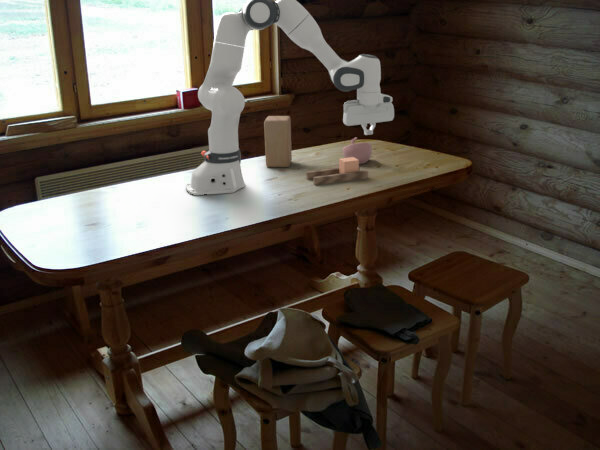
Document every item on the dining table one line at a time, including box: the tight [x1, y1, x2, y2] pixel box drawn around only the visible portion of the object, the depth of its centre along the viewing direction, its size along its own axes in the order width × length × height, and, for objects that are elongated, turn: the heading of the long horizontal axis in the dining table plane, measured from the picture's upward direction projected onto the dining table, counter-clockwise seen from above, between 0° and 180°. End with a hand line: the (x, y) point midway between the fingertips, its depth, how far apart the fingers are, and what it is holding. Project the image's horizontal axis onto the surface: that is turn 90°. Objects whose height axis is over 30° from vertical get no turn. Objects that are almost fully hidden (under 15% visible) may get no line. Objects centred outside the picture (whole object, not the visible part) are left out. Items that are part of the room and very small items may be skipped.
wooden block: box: [263, 115, 293, 168], centre depth 271 cm, size 10×10×20 cm
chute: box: [305, 165, 369, 186], centre depth 250 cm, size 22×9×4 cm, turn 110°
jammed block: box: [338, 157, 360, 174], centre depth 251 cm, size 6×5×7 cm
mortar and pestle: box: [342, 136, 373, 165], centre depth 270 cm, size 12×12×12 cm
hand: (368, 134), depth 249 cm, fingers closed
